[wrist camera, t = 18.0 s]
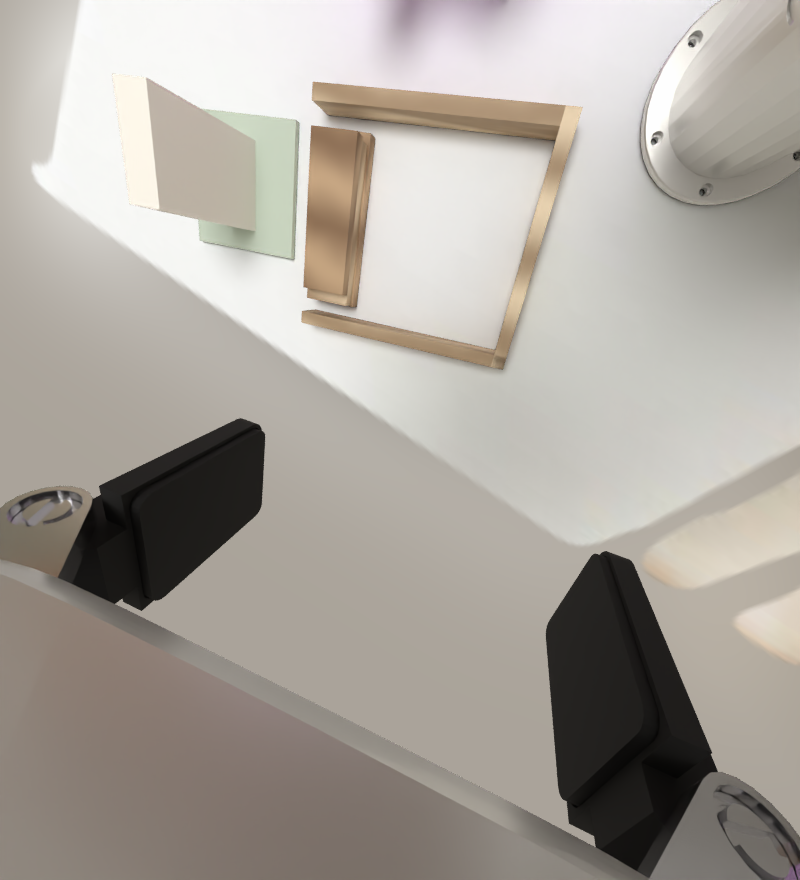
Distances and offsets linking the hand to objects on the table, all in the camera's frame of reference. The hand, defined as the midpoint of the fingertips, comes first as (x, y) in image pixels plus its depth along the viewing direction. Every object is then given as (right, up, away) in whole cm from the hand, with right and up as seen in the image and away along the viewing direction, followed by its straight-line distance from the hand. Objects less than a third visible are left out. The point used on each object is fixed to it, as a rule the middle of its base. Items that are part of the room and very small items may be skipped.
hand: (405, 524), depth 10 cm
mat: (-17, +29, +28) cm, 44 cm away
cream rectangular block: (-17, +29, +28) cm, 44 cm away
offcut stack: (-6, +25, +27) cm, 37 cm away
